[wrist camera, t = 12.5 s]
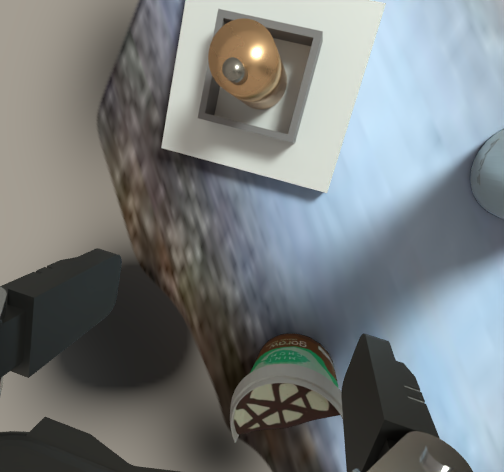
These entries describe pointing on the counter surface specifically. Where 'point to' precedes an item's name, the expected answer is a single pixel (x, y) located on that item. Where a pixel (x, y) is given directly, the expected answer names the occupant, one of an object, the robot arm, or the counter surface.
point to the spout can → (248, 63)
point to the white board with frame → (296, 94)
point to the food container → (286, 387)
